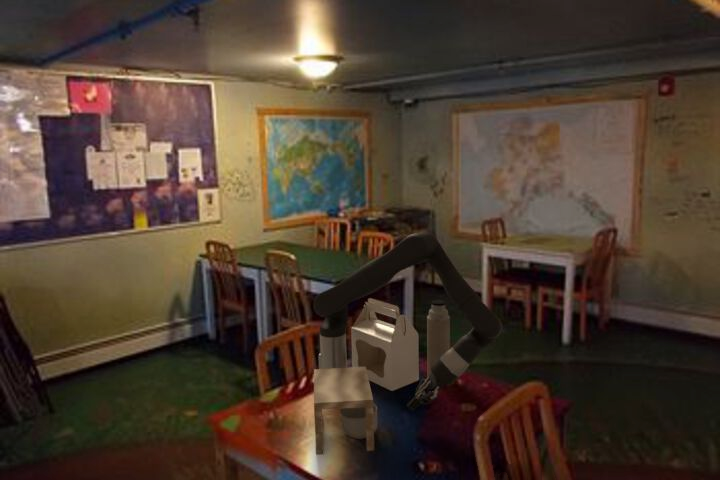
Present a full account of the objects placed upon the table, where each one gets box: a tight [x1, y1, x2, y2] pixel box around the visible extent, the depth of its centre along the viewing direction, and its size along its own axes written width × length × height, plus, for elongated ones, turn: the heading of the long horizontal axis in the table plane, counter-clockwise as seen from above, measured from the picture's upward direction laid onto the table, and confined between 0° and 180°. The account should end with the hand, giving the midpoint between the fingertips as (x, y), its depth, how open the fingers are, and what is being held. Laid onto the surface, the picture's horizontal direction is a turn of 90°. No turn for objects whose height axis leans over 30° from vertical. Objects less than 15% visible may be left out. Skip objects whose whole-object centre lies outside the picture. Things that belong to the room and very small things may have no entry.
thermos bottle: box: [426, 299, 451, 377], centre depth 198 cm, size 8×8×28 cm
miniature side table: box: [313, 366, 375, 455], centre depth 163 cm, size 16×23×15 cm
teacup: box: [339, 402, 379, 440], centre depth 164 cm, size 14×11×8 cm
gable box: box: [350, 297, 420, 392], centre depth 200 cm, size 22×13×28 cm, turn 40°
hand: (409, 408), depth 165 cm, fingers closed
